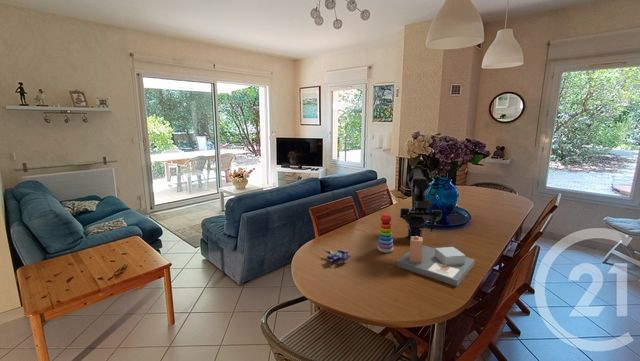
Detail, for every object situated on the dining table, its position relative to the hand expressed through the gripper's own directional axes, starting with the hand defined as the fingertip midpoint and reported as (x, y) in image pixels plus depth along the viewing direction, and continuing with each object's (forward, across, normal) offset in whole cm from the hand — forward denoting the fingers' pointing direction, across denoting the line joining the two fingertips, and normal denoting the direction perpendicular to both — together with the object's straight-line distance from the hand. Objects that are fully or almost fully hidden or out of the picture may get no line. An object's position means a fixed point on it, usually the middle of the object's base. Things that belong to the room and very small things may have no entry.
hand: (420, 230), depth 140 cm
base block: (+12, +12, +3) cm, 17 cm away
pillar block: (+13, -3, +1) cm, 14 cm away
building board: (+14, +6, +4) cm, 16 cm away
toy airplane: (+17, -38, +2) cm, 42 cm away
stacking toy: (+6, -16, +13) cm, 21 cm away
